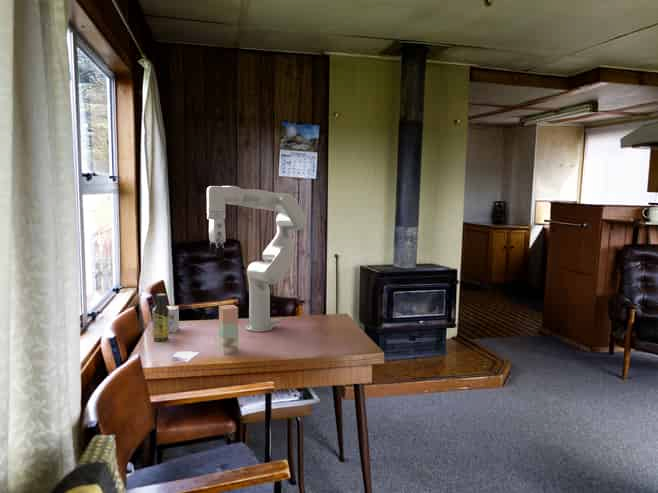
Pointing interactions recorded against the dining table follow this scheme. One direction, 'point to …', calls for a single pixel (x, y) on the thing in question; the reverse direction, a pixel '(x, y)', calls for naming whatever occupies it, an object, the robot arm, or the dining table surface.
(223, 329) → the sage block
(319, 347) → the dining table surface
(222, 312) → the light brown cube
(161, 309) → the sauce bottle
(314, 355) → the dining table surface
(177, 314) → the light bulb box
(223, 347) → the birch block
